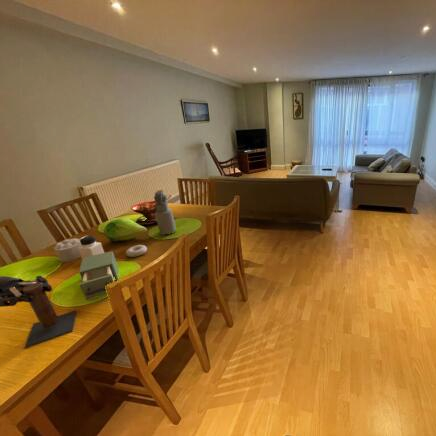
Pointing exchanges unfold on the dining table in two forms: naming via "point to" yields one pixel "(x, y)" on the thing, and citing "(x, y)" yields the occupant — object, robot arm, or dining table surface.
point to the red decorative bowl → (146, 212)
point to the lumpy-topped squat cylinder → (68, 250)
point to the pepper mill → (41, 305)
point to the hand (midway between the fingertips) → (41, 293)
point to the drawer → (96, 282)
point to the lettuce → (123, 230)
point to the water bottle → (163, 214)
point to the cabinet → (99, 263)
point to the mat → (51, 329)
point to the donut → (136, 251)
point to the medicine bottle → (90, 247)
